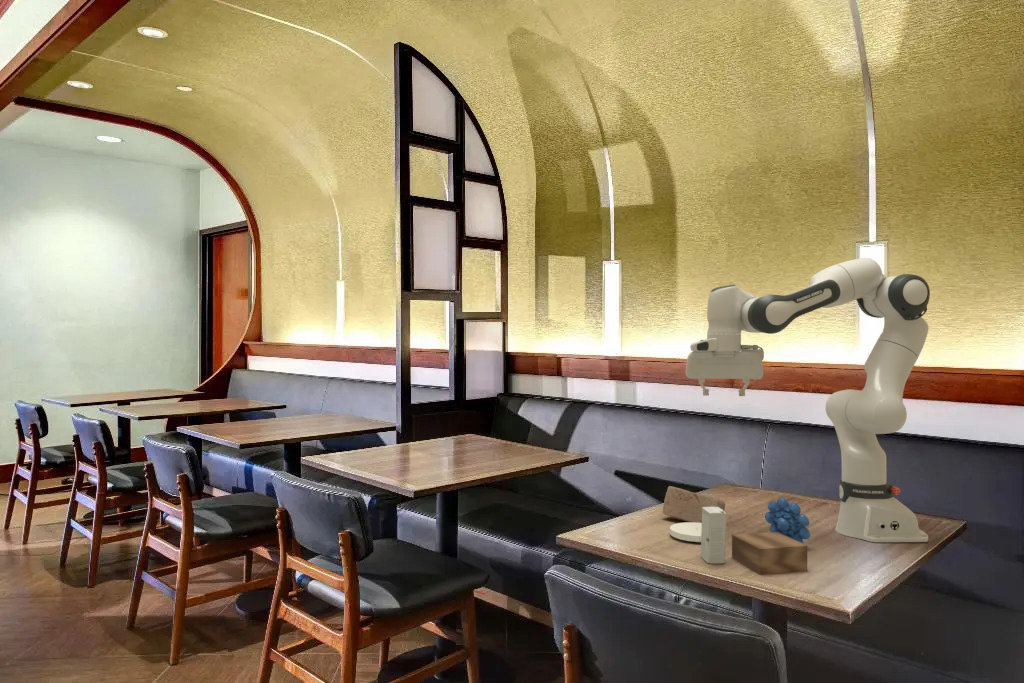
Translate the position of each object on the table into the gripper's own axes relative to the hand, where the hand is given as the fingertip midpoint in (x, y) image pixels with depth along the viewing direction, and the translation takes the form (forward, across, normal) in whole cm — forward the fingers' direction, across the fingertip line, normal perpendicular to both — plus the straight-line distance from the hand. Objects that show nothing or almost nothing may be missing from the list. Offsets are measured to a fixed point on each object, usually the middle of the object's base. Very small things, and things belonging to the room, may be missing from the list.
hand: (723, 395), depth 196 cm
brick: (+37, +8, -7) cm, 39 cm away
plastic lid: (+38, +8, +6) cm, 39 cm away
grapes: (+37, -14, +11) cm, 41 cm away
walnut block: (+37, -7, +27) cm, 47 cm away
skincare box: (+37, +5, +26) cm, 46 cm away
